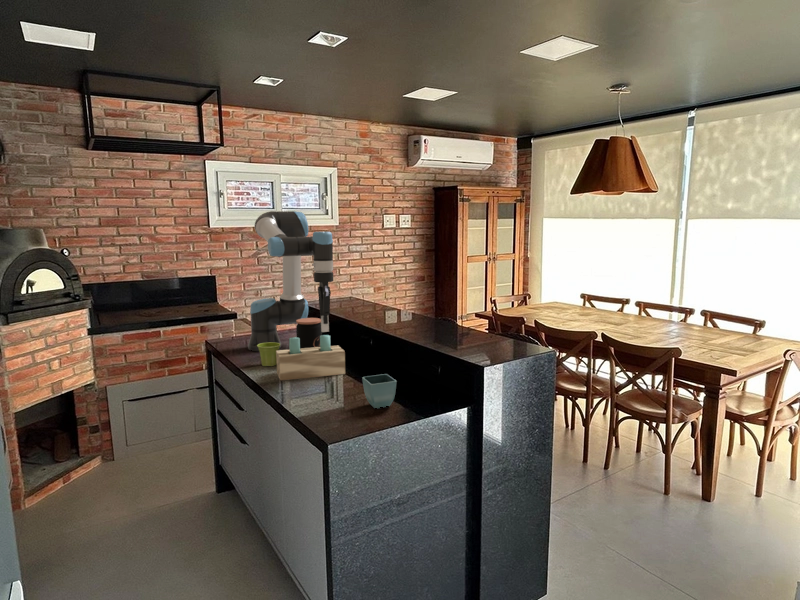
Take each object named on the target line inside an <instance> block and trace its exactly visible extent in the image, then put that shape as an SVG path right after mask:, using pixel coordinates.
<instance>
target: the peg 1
mask: <svg viewBox="0 0 800 600" xmlns="http://www.w3.org/2000/svg"><path fill="white" fill-rule="evenodd" d="M288 341H289V343H288V344H289V346H288V347H289V349H288V350H290V354H300V338H298V337H297V336H295V337H289V339H288Z"/></svg>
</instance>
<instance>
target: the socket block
mask: <svg viewBox="0 0 800 600" xmlns="http://www.w3.org/2000/svg"><path fill="white" fill-rule="evenodd" d="M330 347H331V351H323V352H320V347H314V348H302V349H300V354H290V349H279V350H278V351H276V359H277V364H276V373H277V376H278V378H279V380H280V381H287V380H297V379H308V378H309V379H310V378H317V377H327V376H336V375H345V374H346V352H345V350H344V349H343V348H342V347H341V346H340V345H330Z"/></svg>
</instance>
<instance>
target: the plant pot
mask: <svg viewBox="0 0 800 600" xmlns="http://www.w3.org/2000/svg"><path fill="white" fill-rule="evenodd" d="M279 346H280V343H275V342H268V343H260V344H258V345H257V347H258V349H259V351H258V352H259V355H260V361H261V365H262V366H263V367H274V366H277V359H276V351H278V350H280V348H279Z"/></svg>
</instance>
